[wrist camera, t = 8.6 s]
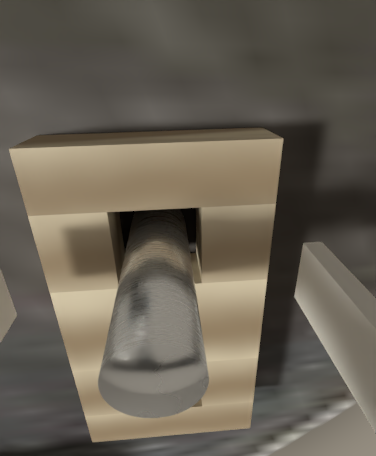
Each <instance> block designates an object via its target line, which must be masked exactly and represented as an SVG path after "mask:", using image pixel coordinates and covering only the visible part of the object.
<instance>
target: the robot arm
mask: <svg viewBox="0 0 376 456" xmlns="http://www.w3.org/2000/svg"><path fill="white" fill-rule="evenodd" d="M294 297H295V299H296V300H297V302H298V304H299V305H300V307H301V309H302V310H303V312H304V314H305V316H306V317H307V319H308V321H309V322H310V324H311V326H312V327H313V329H314V331H315V332H316V334H317V336H318V337H319V339H320V341H321V342H322V344H323V346H324V348H325V349H326V351H327V353H328V354H329V356H330V358H331V359H332V361H333V363H334V364H335V366H336V368H337V369H338V371H339V373H340V374H341V376H342V378H343V379H344V381H345V383H346V385H347V386H348V388H349V390H350V391H351V393H352V395H353V396H354V398H355V400H356V401H357V403H358V405H359V406H360V408H361V409H362V411H363V413H364V415H365V417H366V418H367V420H368V422H369V423H370V425H371V426H372V428H373V430H374V432H375V433H376V298H375V297H374V296H373V295H372V294H371V293H370V292H369V291H368V290H367V289H366V288H365V287H364V286H363V285H362V284H361V283H360V281H359V280H358V279H357V278H356V277H355V276H354V275H353V274H352V273H351V272H350V271H349V270H348V269H347V268H346V267H345V266H344V265H343V264H342V263H341V262H340V261H339V259H338V258H337V257H336V256H335V255H334V254H333V253H332V252H331V251H330V250H329V249H328V248H327V247H326V246H325V245H324V244H323V243H322V242H310V243H303V248H302V254H301V260H300V266H299V271H298V277H297V283H296V289H295V295H294ZM16 316H17V313H16V311H15V308H14V305H13V302H12V300H11V297H10V294H9V291H8V288H7V286H6V283H5V280H4V277H3V275H2V272H1V269H0V343H1V341H2V339H3V338H4V336H5V334H6V333H7V331H8V329H9V328H10V326H11V325H12V323H13V321H14V320H15V318H16Z"/></svg>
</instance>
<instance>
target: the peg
mask: <svg viewBox="0 0 376 456" xmlns="http://www.w3.org/2000/svg"><path fill="white" fill-rule="evenodd" d="M208 384H209V375H208V368H207V361H206V355H205V348H204V342H203V335H202V329H201V322H200V315H199V309H198V302H197V296H196V289H195V283H194V276H193V270H192V263H191V256H190V250H189V243H188V237H187V230H186V224H185V218H184V215H183V213H182V211H181V210H180V209H161V210H141V211H136V212H135V213H134V216H133V219H132V224H131V228H130V233H129V238H128V242H127V247H126V252H125V256H124V261H123V266H122V270H121V275H120V280H119V284H118V289H117V294H116V298H115V303H114V308H113V312H112V317H111V322H110V326H109V331H108V336H107V340H106V345H105V350H104V354H103V359H102V364H101V368H100V373H99V378H98V388H99V392H100V394H101V396H102V398H103V399H104V400H105V401H106V402H107V403H108V404H109V405H110V406H111V407H113V408H114V409H116V410H118V411H119V412H122V413H124V414H127V415H130V416H134V417H140V418H161V417H167V416H172V415H175V414H178V413H181V412H183V411H185V410H187V409H189V408H190V407H192V406H193V405H195V404H196V403H197V402H198V401H199V400H200V399H201V398H202V397H203V395H204V394H205V392H206V390H207V388H208Z"/></svg>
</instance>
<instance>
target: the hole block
mask: <svg viewBox="0 0 376 456" xmlns="http://www.w3.org/2000/svg"><path fill="white" fill-rule="evenodd" d="M282 146H283V138H282V137H280V136H278V135H276V134H274V133H272V132H270V131H268V130H266V129H264V128H262V127H260V128H232V129H204V130H176V131H148V132H120V133H92V134H64V135H37V136H35V137H33V138H31V139H29V140H26V141H24V142H22V143H20V144H18V145H16V146H14V147H12V148H10V149H9V151H10V155H11V158H12V162H13V165H14V169H15V172H16V176H17V179H18V183H19V186H20V190H21V193H22V197H23V200H24V204H25V207H26V211H27V214H28V218H29V221H30V225H31V228H32V232H33V235H34V239H35V242H36V246H37V249H38V253H39V256H40V260H41V264H42V267H43V271H44V274H45V278H46V281H47V285H48V288H49V292H50V295H51V299H52V302H53V306H54V309H55V313H56V316H57V320H58V323H59V327H60V330H61V334H62V337H63V341H64V344H65V348H66V351H67V355H68V358H69V362H70V365H71V369H72V372H73V376H74V379H75V383H76V386H77V390H78V393H79V397H80V400H81V404H82V407H83V411H84V414H85V418H86V421H87V425H88V428H89V432H90V435H91V439H92V442H101V441H112V440H123V439H134V438H145V437H156V436H167V435H178V434H189V433H200V432H211V431H222V430H233V429H244V428H250V424H251V415H252V406H253V398H254V389H255V380H256V372H257V363H258V354H259V346H260V337H261V328H262V320H263V311H264V302H265V294H266V285H267V276H268V268H269V259H270V250H271V242H272V233H273V224H274V216H275V207H276V198H277V190H278V181H279V172H280V164H281V155H282ZM181 208H196V253H190V256H191V263H192V270H193V276H194V283H195V289H196V296H197V302H198V309H199V315H200V322H201V329H202V335H203V342H204V348H205V355H206V361H207V368H208V375H209V384H208V388H207V390H206V392H205V394H204V395H203V397H202V398H201V399H200V400H199V401H198V402H197V403H196V404H195V405H193V406H192V407H190V408H189V409H187V410H185V411H183V412H181V413H178V414H175V415H172V416H167V417H161V418H140V417H134V416H130V415H127V414H124V413H122V412H119V411H118V410H116V409H114V408H113V407H111V406H110V405H109V404H108V403H107V402H106V401H105V400H104V399H103V398H102V396H101V394H100V392H99V388H98V378H99V373H100V368H101V364H102V359H103V354H104V350H105V345H106V340H107V336H108V331H109V326H110V322H111V317H112V312H113V308H114V303H115V298H116V294H117V289H118V284H119V280H120V275H121V270H122V266H123V261H124V256H125V250H124V242H123V235H122V228H121V220H120V213H119V212H121V211H141V210H161V209H181Z"/></svg>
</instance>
